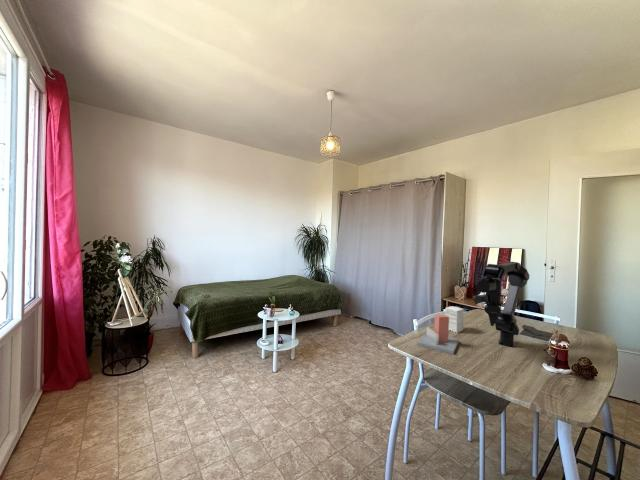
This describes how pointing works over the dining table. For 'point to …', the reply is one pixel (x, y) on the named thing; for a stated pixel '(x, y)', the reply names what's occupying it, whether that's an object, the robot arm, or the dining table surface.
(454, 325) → the supplement box
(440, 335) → the boxed book
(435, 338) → the bookend
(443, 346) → the shelf board
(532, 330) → the picture frame
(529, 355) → the dining table surface
